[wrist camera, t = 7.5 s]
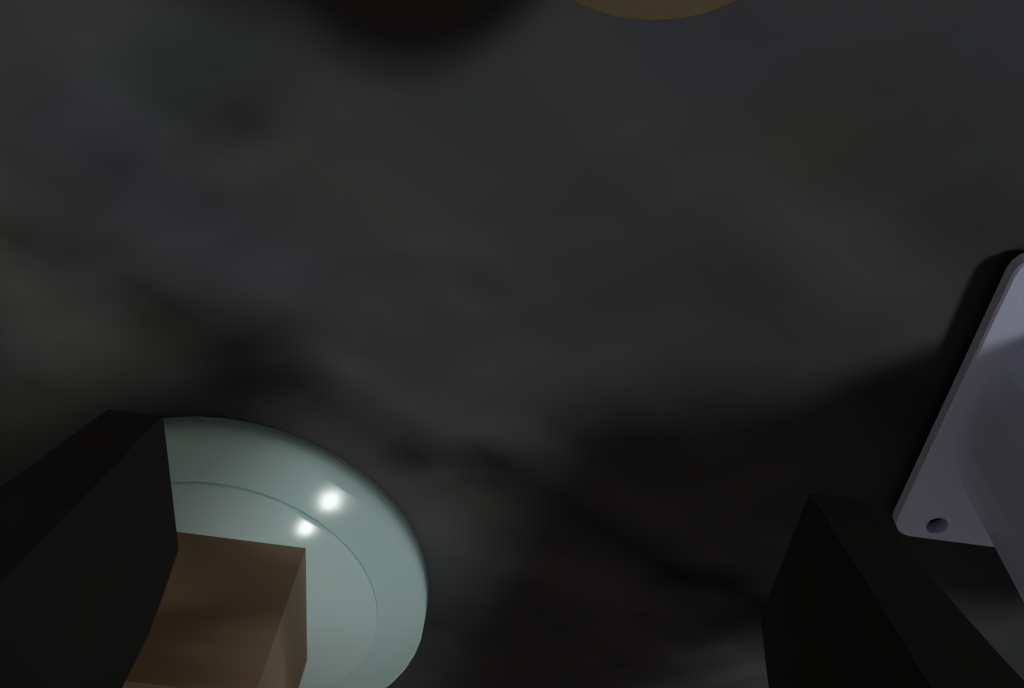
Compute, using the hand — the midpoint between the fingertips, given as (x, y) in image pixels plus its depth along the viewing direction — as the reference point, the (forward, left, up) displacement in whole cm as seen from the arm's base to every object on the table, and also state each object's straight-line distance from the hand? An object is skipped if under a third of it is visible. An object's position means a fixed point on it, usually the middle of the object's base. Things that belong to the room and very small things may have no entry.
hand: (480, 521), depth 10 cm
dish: (+7, +13, -10) cm, 18 cm away
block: (+7, +13, -9) cm, 17 cm away
